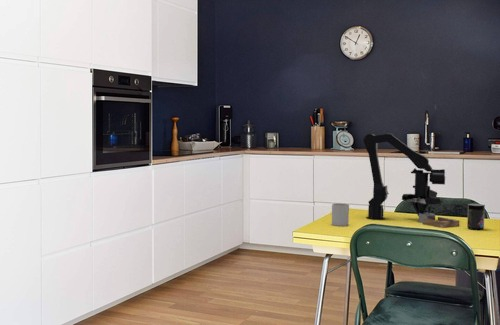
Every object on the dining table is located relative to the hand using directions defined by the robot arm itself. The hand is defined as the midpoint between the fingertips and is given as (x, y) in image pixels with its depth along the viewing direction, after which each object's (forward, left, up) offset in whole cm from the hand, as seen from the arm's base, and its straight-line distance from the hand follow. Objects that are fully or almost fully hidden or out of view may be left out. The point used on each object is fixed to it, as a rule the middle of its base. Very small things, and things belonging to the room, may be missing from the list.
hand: (420, 217), depth 286 cm
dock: (0, -12, -2) cm, 12 cm away
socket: (0, -4, -2) cm, 4 cm away
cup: (-40, +8, -2) cm, 41 cm away
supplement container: (+5, -27, -2) cm, 27 cm away
